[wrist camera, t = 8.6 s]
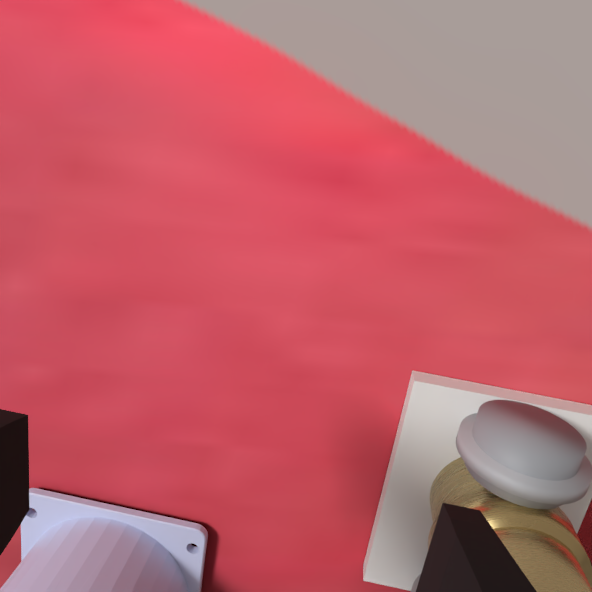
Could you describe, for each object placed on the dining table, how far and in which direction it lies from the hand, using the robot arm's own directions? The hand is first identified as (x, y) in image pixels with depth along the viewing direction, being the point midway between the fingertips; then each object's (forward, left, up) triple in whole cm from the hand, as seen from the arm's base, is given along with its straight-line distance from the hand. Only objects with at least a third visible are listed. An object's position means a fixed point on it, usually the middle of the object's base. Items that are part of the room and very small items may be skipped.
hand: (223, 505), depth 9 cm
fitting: (-6, -8, -10) cm, 14 cm away
